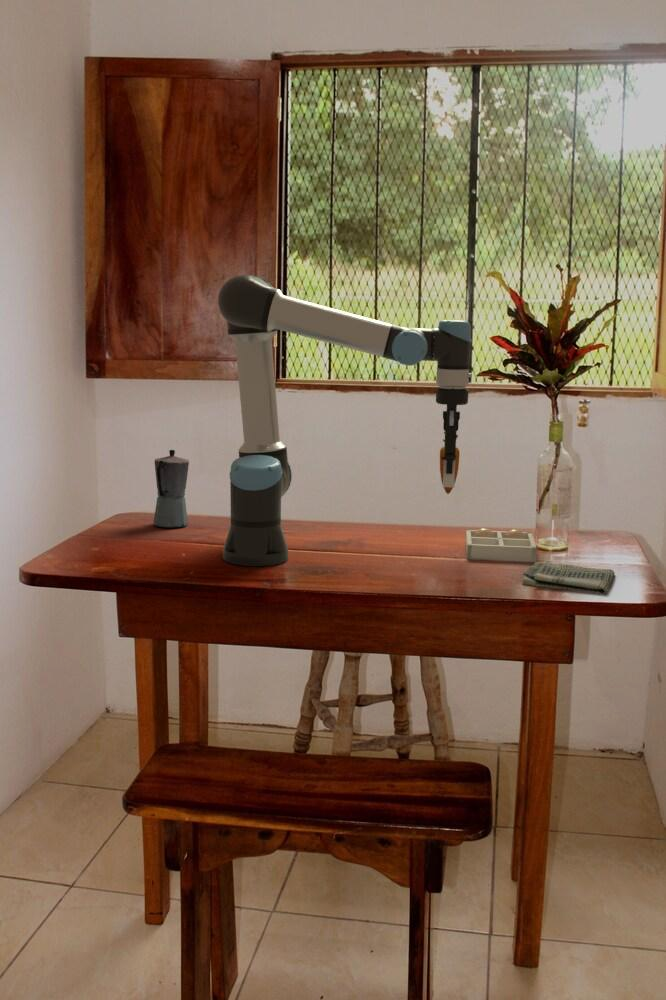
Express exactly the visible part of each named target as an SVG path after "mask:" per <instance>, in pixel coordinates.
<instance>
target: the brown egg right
mask: <svg viewBox="0 0 666 1000" xmlns="http://www.w3.org/2000/svg"><path fill="white" fill-rule="evenodd" d="M507 532H508V533H507V534H506V537H505V538H510V539H524V534H523V533H522V532H523V531H521V530H520V529H517V528H513V529H510V530H509V531H507Z"/></svg>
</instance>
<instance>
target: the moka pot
mask: <svg viewBox="0 0 666 1000" xmlns="http://www.w3.org/2000/svg"><path fill="white" fill-rule="evenodd" d="M168 452H169V455H167V456H163V457H158V458H155V459H154V471H155V479H156V490H157V498H156V503H155V510H154V516H153V525H154V526H155V527H161V528H181V527H186V526H188V524H189V521H188V513H187V504H186V497H185V496H186V489H187V481H188V473H189V465H190V460H189V459H186V458H182V457H179V456H175V453H176V450H175V449H170V450H169V451H168Z"/></svg>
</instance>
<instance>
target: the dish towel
mask: <svg viewBox="0 0 666 1000" xmlns="http://www.w3.org/2000/svg"><path fill="white" fill-rule="evenodd" d="M522 575H523V576H524V577H523V579H522V584H521V585H522V586H529V587H530V586H532V587H538V588H548V589H555V590H563V591H564V590H567V591H573V592H579V593H580V592H581V593H588V594H589V593H591V594H596V595H606V594H607V593H608V590H609V589H610V587H611V584H612V583H613V581H614V578H615V571H614V570H613V569H612V568H611V569H609V568H607V569H606V568H605V569H604V568H595V567H594V568H593V567H584V566H580V565H573V564H563V563H562V564H561V563H555V562H554V563H553V562H550V561H546V560H544V561H543V562H541V561H536V562H534V564H533V565H532V566H531V567H529V568H528V569H527V570H526V571H524V572H523V574H522Z"/></svg>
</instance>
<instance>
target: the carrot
mask: <svg viewBox="0 0 666 1000" xmlns="http://www.w3.org/2000/svg"><path fill="white" fill-rule="evenodd" d="M443 434H444V435H445V434H446V432H445V431H444V432H443ZM458 437H459V435H458V434H457V433H456V440H457V439H458ZM442 441H443V442H444V443H445V438H444V439H442ZM444 455H445V447H444V446H442V447H441V448H440V450H439V472H440V480H441V484H442V485H443V466H444V460H441V457H444ZM455 455H456V459H455V480H454V485H455V484H456V481H457V477H458V472H459V465H460V449H459V448H458V447H456V452H455ZM453 488H454V487H443V489H444V492H445V493H446V494H447V495H449V494H450V493H451V492H452V490H453Z"/></svg>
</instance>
